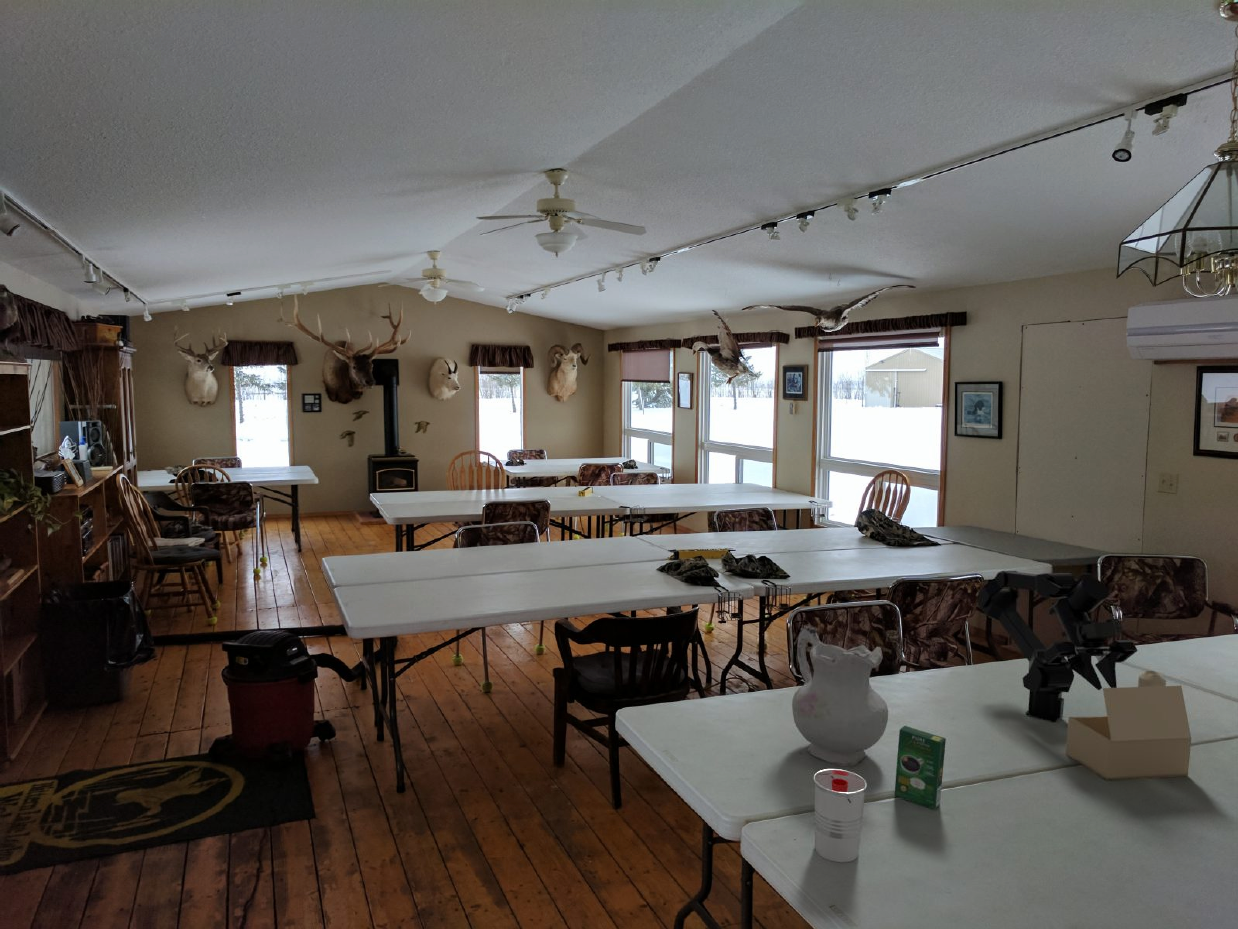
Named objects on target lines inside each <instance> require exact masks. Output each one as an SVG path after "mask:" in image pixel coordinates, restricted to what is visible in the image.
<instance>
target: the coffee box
mask: <svg viewBox="0 0 1238 929" xmlns="http://www.w3.org/2000/svg"><path fill="white" fill-rule="evenodd" d="M898 736H899V737H898V746H897V756H896V757H897V758H896V771H895V782H894V783H895V784H894V793H893V794H894V796H895V797H898V798H900V799H902V800H907V801H910V802H912V803H915V804H918V805H920V806H923V807H925V808H930V809H933V810H934V811H936V810H937V809H938V808H939V806H941V796H942V786H943V775H944V774H943V773H944V764H945V763H944V761H945V753H946V740H947V739H946V737H942V736H939V735H935V734H934V733H929V732H926V731H924V730H920V729H917V728H913V727H911V726H909V725H908V726H907V725H903V726H902V727H901V728H899V732H898Z"/></svg>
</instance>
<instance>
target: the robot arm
mask: <svg viewBox="0 0 1238 929" xmlns="http://www.w3.org/2000/svg"><path fill="white" fill-rule="evenodd" d="M1008 588H1009V589H1008ZM1020 589H1021V590H1027V591H1032V592H1033V591H1034V592H1035V593H1036V594H1037V596H1041V597H1043V598H1045V599H1058V601H1057V602H1052V603H1051V607H1050V609H1049V612H1048V613H1049V615H1051V616H1053V615H1054V616H1055V615H1056V616H1057V618H1058V621H1059V622H1060V624H1061V626H1062V629H1063V631H1062V632H1061V636H1062V638H1067V639H1068V641H1055V642H1054V643H1053V644H1051V645H1050V646H1049V647H1048V648H1046V646H1045V645H1044V644H1043V642H1042V641H1041V640H1040V639H1039V637H1038V636H1037V635H1036V633H1035V632H1034V631H1033V630H1032V628H1031V627H1030V626H1029V625H1028V624H1027V622H1026V621H1025V619H1024V618H1023V617H1022V616H1021V615H1020V613H1019V612H1018V610H1017V609H1018V600H1019V598H1020ZM1109 594H1110V592H1109V588H1108V587H1107V585H1106V584H1104V583H1103V582H1102V581H1100V580H1099V579H1097V578H1095V577H1093V575H1092V573H1082V574H1081V575H1080V576H1079V578H1078V579H1076V578H1075V575H1074V574H1072V573H1070V572H1059V573H1058V572H1057V573H1056V572H1054V573H1053V572H1050V573H1049V572H1048V573H1045V572H1043V573H1040V574H1036V573H1030V572H1029V573H1028V572H1027V573H1026V572H1019V571H1018V570H1001V571H999V572H997V573H996V575H995V577H993V579H991V580H990V581H988V582H987V583H986V584H984V585H983V586H982V588H981V590H980V591H979V593H978V595H977V596H976V597H977V598H976V602H977V605H978V607H979V609H980V610H981V611H982V612H983V613H984V614H985V615H986V616H988V618H991V619H992V620H993V619H994V620H996V621H998V623H1000V624H1001V626H1002V627H1003V629H1004V630H1005V631H1006V633H1007V634H1008V635H1009V636H1010V638H1011V639H1012V641H1013V642H1014V643H1015V645H1016V646H1017V648H1019V650H1020V651H1021V653H1022V654H1023V655H1024V657H1025V658H1026V659H1027V660H1028V672H1027V673H1026V674H1025V675H1024V676H1023V677H1022V685H1023V687H1024V688H1025V689H1027V690H1029V693H1028V694H1029V695H1028V706H1027V707H1028V709H1027V711H1025V715H1026V716H1029V717H1033V718H1036V719H1040V720H1041V719H1042V720H1045V721H1050V722H1052V723H1056V722H1057V721H1058V720H1059V719H1060V718H1062V717H1063V716H1064V705H1065V699H1064V697H1062V695H1063V693H1069V692H1070V690H1071V687H1072V684H1073V682H1074V678H1075V673H1077V675H1079V676H1080V677H1082V678H1083V679H1084V680H1086V682H1088V683H1089V684H1090V685H1091V686H1092V687H1094V688H1095V689H1096V690H1098V691H1101V690H1103V686H1102V684H1101V681H1100V679H1099V676H1098V674H1097V672H1096V670H1095V667H1096V669H1097V671H1098V672H1099V673H1100V674H1101V676H1102V678H1103V679H1104V680H1105V681H1106V684H1107V685H1108V686H1109V688H1118V687H1117V686H1118V685H1117V676H1116V675H1117V674H1116V666H1117V665H1116V663H1118V664H1119V663H1123V662H1125V661H1127V660H1128V659H1129V658H1131V656H1133V655H1134V654H1136V653H1137V652H1138V648H1137V647H1136V644H1135V643H1134V641H1132V640H1129V639H1122V640H1121V639H1117V640H1113V641H1111V643H1110V644H1109V645H1107V646H1103V644H1106V643H1107V642H1108V641H1109V640H1108V639H1110V638H1118V634H1122V633H1123V631H1124V630H1123V629H1124V628H1123V624H1122V623H1121V622H1120V620H1119V619H1118V618H1109V619H1105V621H1100V622H1098V621H1095V620H1091V619H1090V618H1089V616H1088V614H1089V613H1091V612H1093V611H1094V610H1095V609H1096V608H1098V606H1100V605H1101V603H1103V602H1104V601H1105V600H1106V599H1107V598H1108V597H1109ZM1092 657H1096V661H1097V663H1095V665H1093V663H1092ZM1094 666H1095V667H1094ZM1074 672H1075V673H1074Z"/></svg>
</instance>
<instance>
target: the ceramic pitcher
mask: <svg viewBox="0 0 1238 929" xmlns="http://www.w3.org/2000/svg"><path fill="white" fill-rule="evenodd" d="M818 629H819V628H817V627H815V626H813V627H812V626H810V625H803V627H802V628H801V631H800V632H799V635H798V638H797V639H798V640H797V647H796V648H797V650H796V651H797V653H796V654H797V661H798V664H799V671H800V673H801V674H802V676H803V677H802V678H803V679H804V684H803V685H801V687H799V688H798V689H797V690H796V691H795V693H794V695H793V698H792V701H791V702H792V703H791V708H792V715H793V722H794V724H795V727H796V728H797V730H798V731H799V733H800V734H801V735H802V737H803V738H804V739H805V741H807V742H808V743H809V744H808V745H807V746H808V747H807V750H808V754H810V755H812V756H814V757H816V758H818V759H820V760H822V761H826V762H828V763H830V764H834V765H835V766H839V767H849V768H850V767H851V768H852V767H854V766H856V765H857V764H858V763H859V762H861V760H863V758H864V757H865V756H866V752H865V750H868V749H870V748H872V747H873V746H875V744H877V742H879V741H880V740H881V738H882V736H884V734H885V731H886V728H887V725H888V721H889V709H888V704H887V703H886V701H885V699H883V697H882V696H881V695H880V694H879V693H878V692H877V691H875V690H874V688H872V686H871V684H870V677H871V672H872V669H874V668H877V667H878V666H880V664H881V663H882V660H883V652H882V647H880V646H876V647H875V648H874V650H872V651H871V650H869V649H868V648H867V647H866V646H865V645H863V644H862V645H859V646H855V647H854V646H853V647H851V648H849V649H845V648H843V647H841V646H838V645H835V644H825V643H823V642H822V641H821V640H820V638H819V635H818V632H817V631H818ZM808 643H809V644H811V646H812V647H811V649H810V651H809V657H810V660H811V663H812V668H813V676H812V673H811V668H810V665H809V663H808V660H807V655H806V651H807V646H808Z"/></svg>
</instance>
